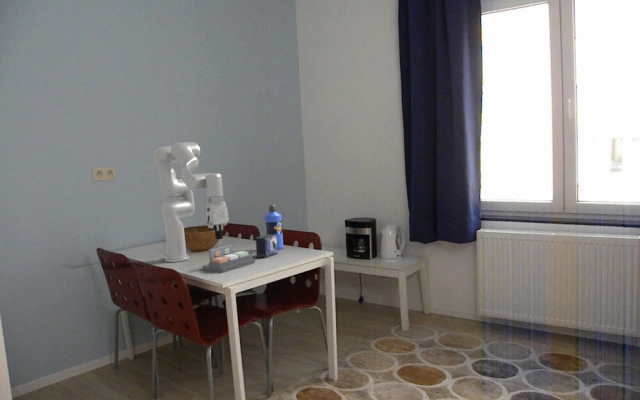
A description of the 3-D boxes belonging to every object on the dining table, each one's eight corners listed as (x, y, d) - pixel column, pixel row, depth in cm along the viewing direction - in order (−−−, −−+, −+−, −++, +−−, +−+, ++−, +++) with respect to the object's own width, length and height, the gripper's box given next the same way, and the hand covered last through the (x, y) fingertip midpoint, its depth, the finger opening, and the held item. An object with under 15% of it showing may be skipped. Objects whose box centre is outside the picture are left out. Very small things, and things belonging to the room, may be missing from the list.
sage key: (233, 257, 247) (232, 253, 247) (240, 255, 251) (240, 251, 251) (240, 258, 244) (240, 254, 244) (248, 255, 248) (247, 251, 248)
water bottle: (287, 247, 281) (283, 203, 279) (276, 251, 273) (273, 205, 271) (273, 246, 286) (270, 203, 284) (263, 250, 278) (260, 205, 276)
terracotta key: (212, 263, 237) (212, 258, 237) (221, 260, 241) (220, 256, 241) (220, 264, 234) (219, 259, 234) (228, 261, 238) (228, 257, 238)
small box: (266, 258, 257) (264, 238, 256) (256, 257, 260) (254, 237, 259) (278, 254, 266) (277, 234, 265) (268, 253, 269) (267, 234, 268)
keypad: (202, 269, 240) (201, 251, 239) (235, 260, 256) (233, 243, 256) (222, 272, 231) (221, 253, 231) (254, 262, 248) (253, 244, 247)
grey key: (223, 260, 242) (222, 256, 242) (231, 257, 246) (230, 253, 246) (230, 261, 239) (230, 256, 239) (238, 258, 243) (238, 254, 243)
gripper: (208, 201, 226) (212, 242, 228) (232, 198, 238) (236, 236, 240) (197, 202, 231) (201, 241, 232) (222, 198, 243) (225, 235, 244)
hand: (219, 238), depth 236 cm, fingers closed
